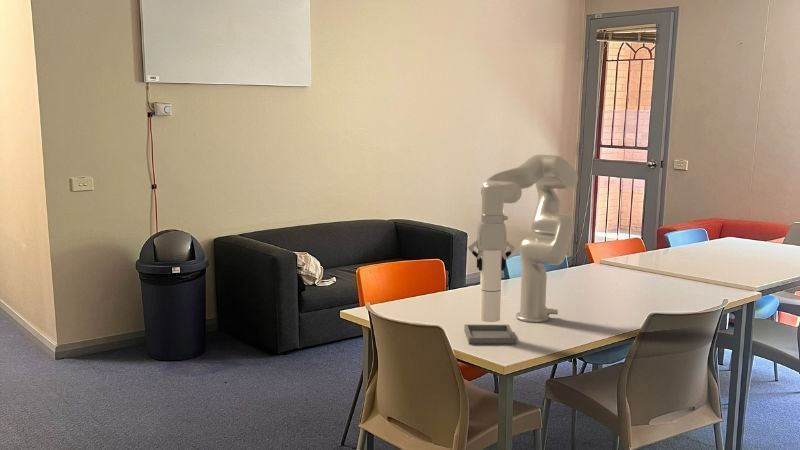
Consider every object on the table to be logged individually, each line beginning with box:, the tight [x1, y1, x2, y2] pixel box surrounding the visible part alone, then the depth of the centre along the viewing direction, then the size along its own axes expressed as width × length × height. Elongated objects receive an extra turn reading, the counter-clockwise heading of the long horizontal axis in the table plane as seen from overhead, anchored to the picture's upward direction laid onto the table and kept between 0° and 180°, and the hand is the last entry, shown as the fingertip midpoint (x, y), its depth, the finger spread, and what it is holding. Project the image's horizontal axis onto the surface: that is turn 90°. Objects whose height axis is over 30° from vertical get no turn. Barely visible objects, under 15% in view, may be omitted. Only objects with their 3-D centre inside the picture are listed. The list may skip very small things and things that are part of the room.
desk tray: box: [464, 323, 517, 346], centre depth 263 cm, size 16×16×2 cm
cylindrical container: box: [478, 250, 502, 323], centre depth 261 cm, size 7×7×25 cm
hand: (491, 269), depth 260 cm, fingers closed on cylindrical container, 7 cm apart
